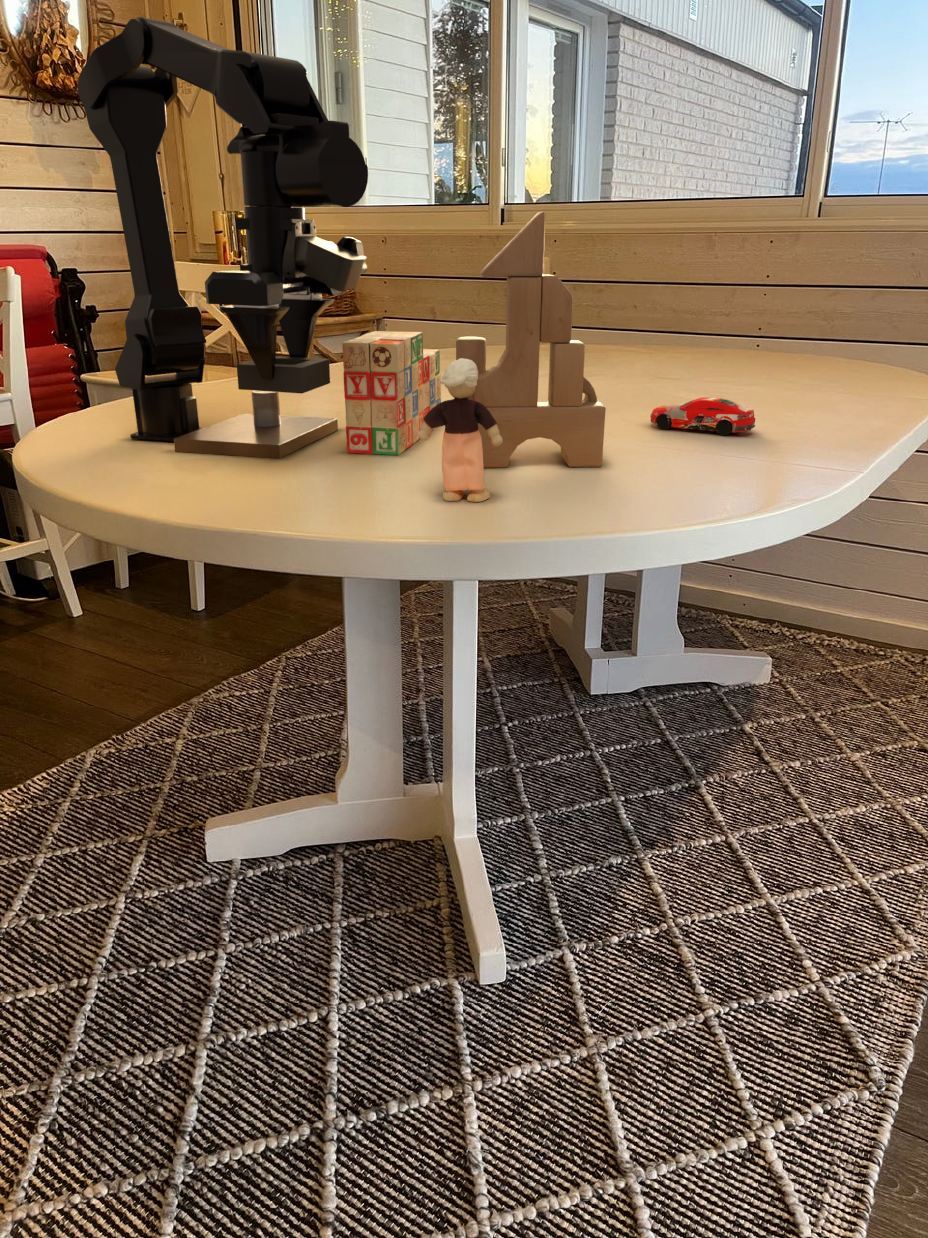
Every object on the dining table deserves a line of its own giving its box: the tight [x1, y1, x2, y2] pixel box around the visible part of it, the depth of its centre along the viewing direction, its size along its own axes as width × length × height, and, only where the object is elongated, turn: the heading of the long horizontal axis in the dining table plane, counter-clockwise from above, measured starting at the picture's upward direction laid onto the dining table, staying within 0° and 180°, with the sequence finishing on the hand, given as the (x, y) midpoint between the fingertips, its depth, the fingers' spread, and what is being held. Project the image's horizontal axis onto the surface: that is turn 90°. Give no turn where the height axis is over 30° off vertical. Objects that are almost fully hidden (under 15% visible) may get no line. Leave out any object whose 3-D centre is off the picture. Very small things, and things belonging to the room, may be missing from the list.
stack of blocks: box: [341, 330, 442, 456], centre depth 110 cm, size 21×6×12 cm, turn 168°
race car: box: [650, 396, 756, 436], centre depth 117 cm, size 13×5×4 cm, turn 60°
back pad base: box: [173, 390, 339, 459], centre depth 109 cm, size 13×17×6 cm
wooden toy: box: [455, 211, 606, 469], centre depth 96 cm, size 16×7×25 cm, turn 93°
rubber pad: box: [236, 355, 331, 394], centre depth 94 cm, size 7×7×2 cm
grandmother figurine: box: [418, 358, 503, 503], centre depth 84 cm, size 8×4×13 cm, turn 91°
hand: (284, 374), depth 94 cm, fingers closed on rubber pad, 7 cm apart
